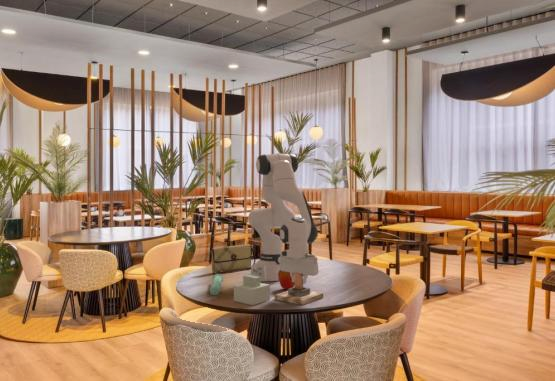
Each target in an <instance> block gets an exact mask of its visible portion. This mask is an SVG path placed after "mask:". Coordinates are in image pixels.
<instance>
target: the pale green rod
mask: <svg viewBox="0 0 555 381" xmlns="http://www.w3.org/2000/svg"><path fill="white" fill-rule="evenodd" d="M211 278H212V280H211V284H210V287H209V294H211V295H212V296H218V295H219V294H220V293H221V289H222V284H223V281H224V277H223V276H222V275H221V274H220V273H214V274H213V276H212V277H211Z"/></svg>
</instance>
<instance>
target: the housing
mask: <svg viewBox="0 0 555 381" xmlns="http://www.w3.org/2000/svg"><path fill="white" fill-rule="evenodd" d="M242 282H243V283H240V284H235V285H233V302H237V303H242V304H245V305H249V306H255V305H258V304H261V303H264V302H267V301H270V300H271V292H270V290H271V288H270V287H271V286H270V283H262V282H261V281H260V277H257V276H252V275H248V274H246V275H242Z"/></svg>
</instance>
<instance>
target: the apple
mask: <svg viewBox="0 0 555 381" xmlns="http://www.w3.org/2000/svg"><path fill="white" fill-rule="evenodd" d="M278 279H279V282H278V283H279V284H280V287H281V288H282V289H283V290H285V291H288V289H290V288H293V287H295V282H292V278H291V276H290V272H285V271H281V269H280V270H279V273H278Z"/></svg>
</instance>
